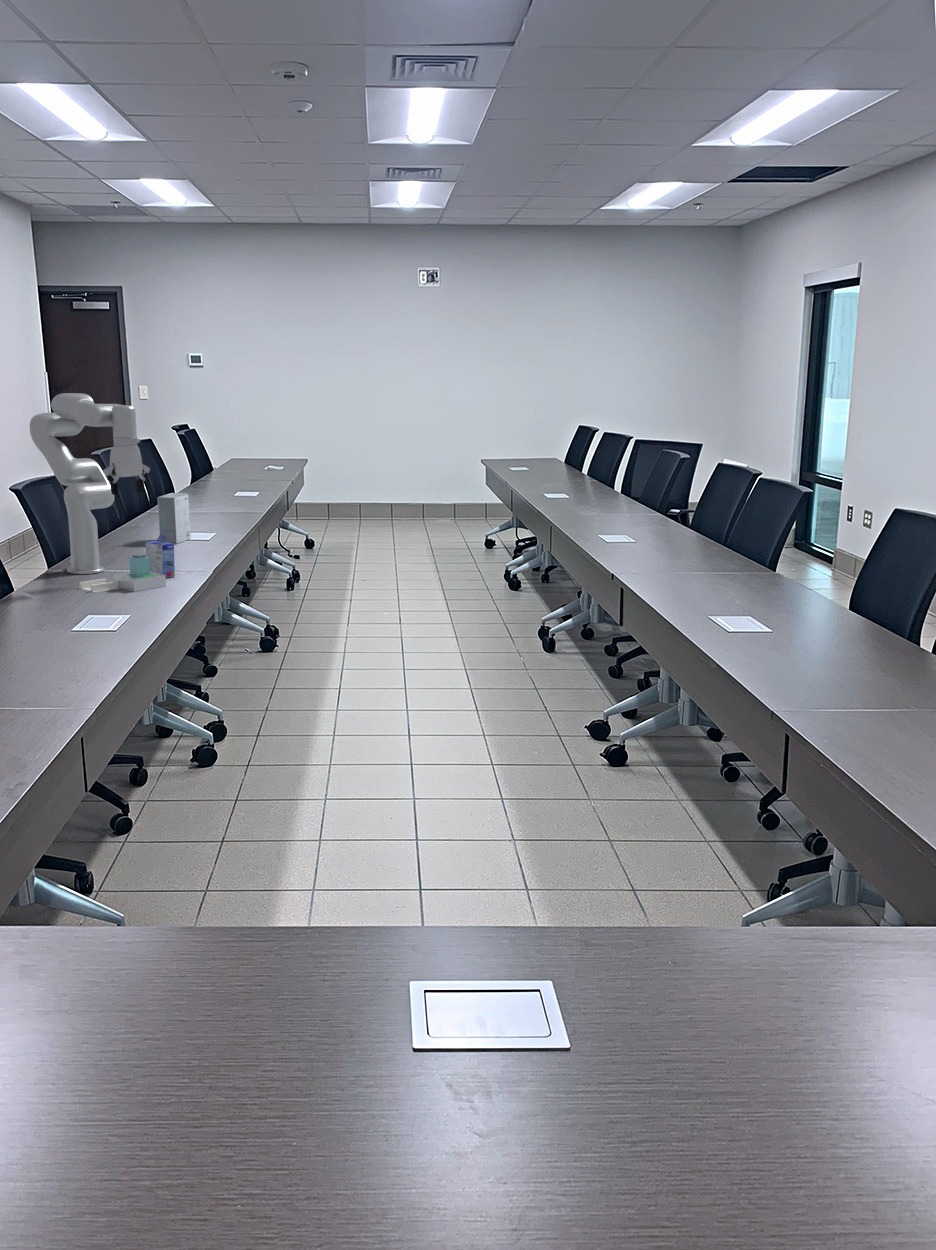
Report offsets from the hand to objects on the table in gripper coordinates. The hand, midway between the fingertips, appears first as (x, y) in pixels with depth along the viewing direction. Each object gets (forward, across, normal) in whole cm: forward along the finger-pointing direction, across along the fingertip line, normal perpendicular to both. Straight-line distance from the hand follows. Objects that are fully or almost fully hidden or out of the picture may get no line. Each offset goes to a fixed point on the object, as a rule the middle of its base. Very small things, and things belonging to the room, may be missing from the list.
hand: (128, 493), depth 356 cm
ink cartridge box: (+31, -12, -1) cm, 33 cm away
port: (+30, +6, +14) cm, 34 cm away
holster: (+30, +17, +7) cm, 35 cm away
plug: (+29, +6, +14) cm, 33 cm away
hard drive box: (+31, -61, -64) cm, 94 cm away
